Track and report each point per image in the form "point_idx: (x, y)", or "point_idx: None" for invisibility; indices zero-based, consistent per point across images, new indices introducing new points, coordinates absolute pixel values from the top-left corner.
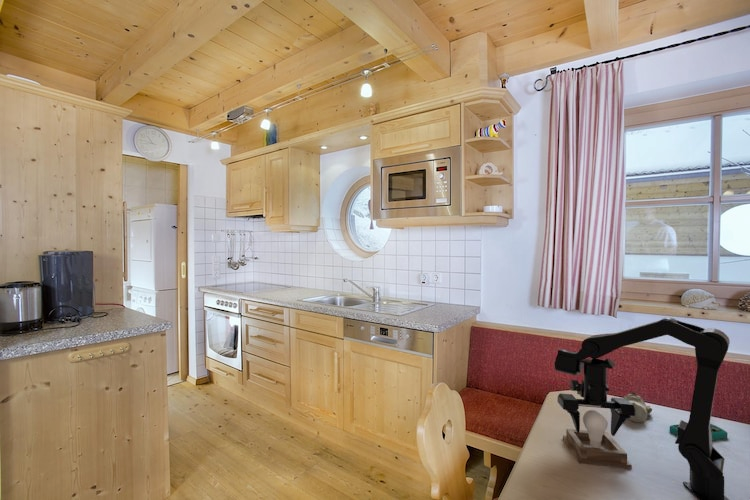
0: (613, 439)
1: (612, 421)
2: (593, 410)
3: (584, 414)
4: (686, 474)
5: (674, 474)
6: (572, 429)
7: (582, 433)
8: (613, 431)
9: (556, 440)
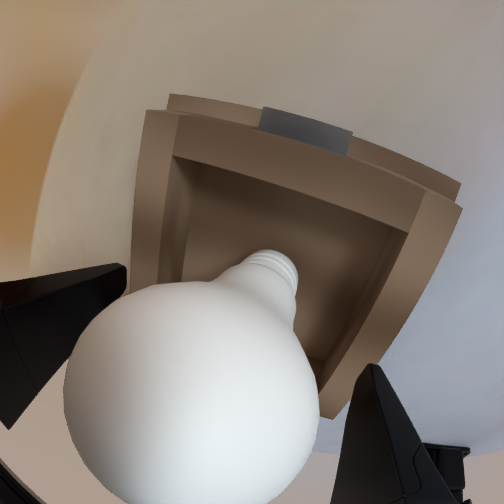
0: (410, 307)
1: (371, 468)
2: (115, 490)
3: (66, 376)
4: (487, 412)
5: (456, 413)
6: (182, 119)
7: (237, 172)
8: (346, 421)
9: (139, 119)
